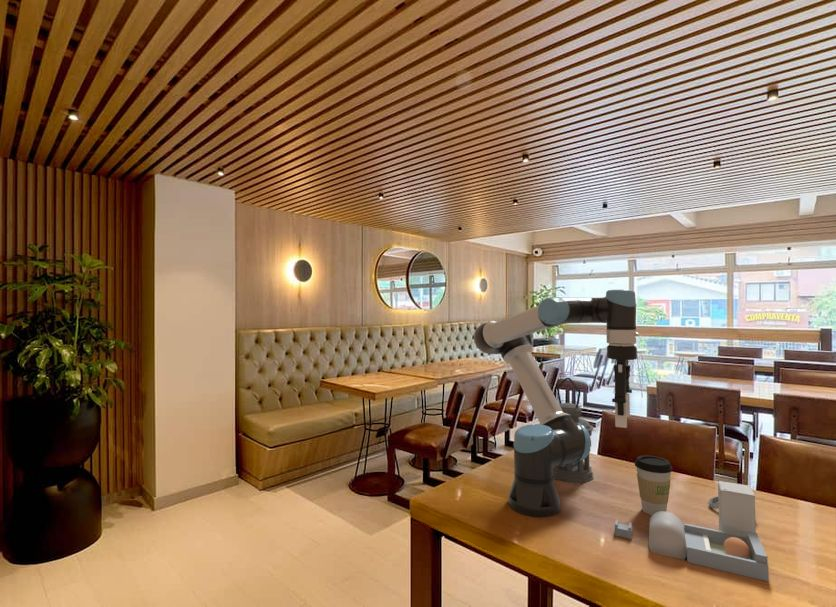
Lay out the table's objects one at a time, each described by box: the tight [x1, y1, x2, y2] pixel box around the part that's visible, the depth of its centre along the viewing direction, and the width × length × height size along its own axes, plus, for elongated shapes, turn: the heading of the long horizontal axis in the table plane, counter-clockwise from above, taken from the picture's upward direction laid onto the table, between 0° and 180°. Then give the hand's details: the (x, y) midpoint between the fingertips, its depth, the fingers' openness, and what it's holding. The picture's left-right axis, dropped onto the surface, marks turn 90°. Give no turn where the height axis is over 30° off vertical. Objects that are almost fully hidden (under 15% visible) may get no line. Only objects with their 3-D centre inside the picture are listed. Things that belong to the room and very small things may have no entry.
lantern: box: [554, 377, 595, 484], centre depth 154 cm, size 17×17×35 cm
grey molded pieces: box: [614, 511, 770, 582], centre depth 105 cm, size 31×13×8 cm, turn 60°
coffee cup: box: [634, 454, 673, 516], centre depth 124 cm, size 10×10×15 cm
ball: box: [724, 537, 750, 559], centre depth 99 cm, size 5×5×5 cm
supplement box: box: [717, 480, 757, 536], centre depth 111 cm, size 7×7×13 cm
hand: (623, 421), depth 117 cm, fingers open, 13 cm apart
